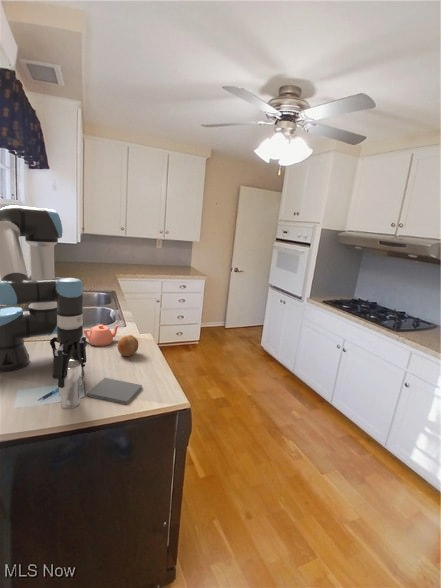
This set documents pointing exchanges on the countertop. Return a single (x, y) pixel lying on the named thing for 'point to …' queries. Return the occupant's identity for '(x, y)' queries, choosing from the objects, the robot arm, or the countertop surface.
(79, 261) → the countertop surface
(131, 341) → the onion
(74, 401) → the beer glass
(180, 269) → the countertop surface
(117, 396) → the slate board
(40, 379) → the countertop surface
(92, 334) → the teapot
